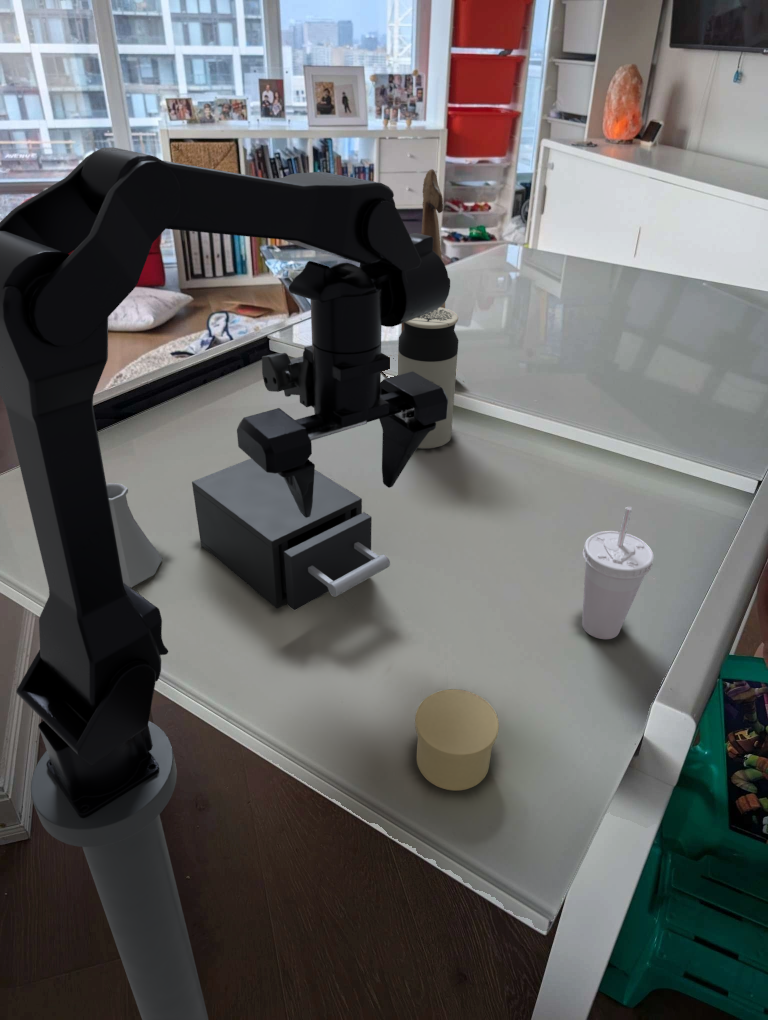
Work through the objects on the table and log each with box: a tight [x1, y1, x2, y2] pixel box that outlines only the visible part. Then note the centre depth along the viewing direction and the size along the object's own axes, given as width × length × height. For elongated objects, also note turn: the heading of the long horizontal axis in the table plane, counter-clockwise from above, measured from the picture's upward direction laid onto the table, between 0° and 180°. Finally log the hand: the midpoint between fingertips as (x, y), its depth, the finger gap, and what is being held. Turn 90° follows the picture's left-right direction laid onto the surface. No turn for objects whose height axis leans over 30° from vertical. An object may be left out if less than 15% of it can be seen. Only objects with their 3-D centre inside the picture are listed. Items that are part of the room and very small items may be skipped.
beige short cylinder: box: [414, 688, 500, 791], centre depth 61 cm, size 7×7×5 cm
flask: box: [106, 482, 163, 588], centre depth 80 cm, size 7×7×10 cm
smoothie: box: [581, 506, 655, 640], centre depth 72 cm, size 6×6×14 cm
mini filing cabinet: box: [191, 458, 363, 610], centre depth 83 cm, size 15×12×9 cm
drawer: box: [279, 511, 391, 611], centre depth 80 cm, size 18×10×7 cm, turn 43°
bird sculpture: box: [400, 168, 446, 334], centre depth 117 cm, size 11×12×32 cm
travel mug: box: [397, 307, 459, 450], centre depth 104 cm, size 8×8×18 cm
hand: (347, 499), depth 71 cm, fingers open, 9 cm apart
